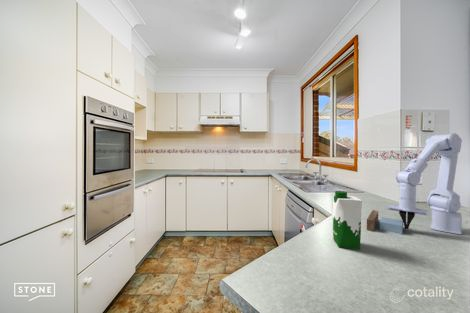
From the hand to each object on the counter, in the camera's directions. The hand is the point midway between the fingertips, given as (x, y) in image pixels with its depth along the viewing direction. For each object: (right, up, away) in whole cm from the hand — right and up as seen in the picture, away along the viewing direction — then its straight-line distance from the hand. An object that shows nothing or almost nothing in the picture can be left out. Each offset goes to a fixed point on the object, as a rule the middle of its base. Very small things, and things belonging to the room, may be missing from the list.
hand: (406, 228), depth 91 cm
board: (-10, -1, +8) cm, 13 cm away
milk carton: (-35, -1, -14) cm, 37 cm away
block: (-4, -2, +3) cm, 6 cm away
